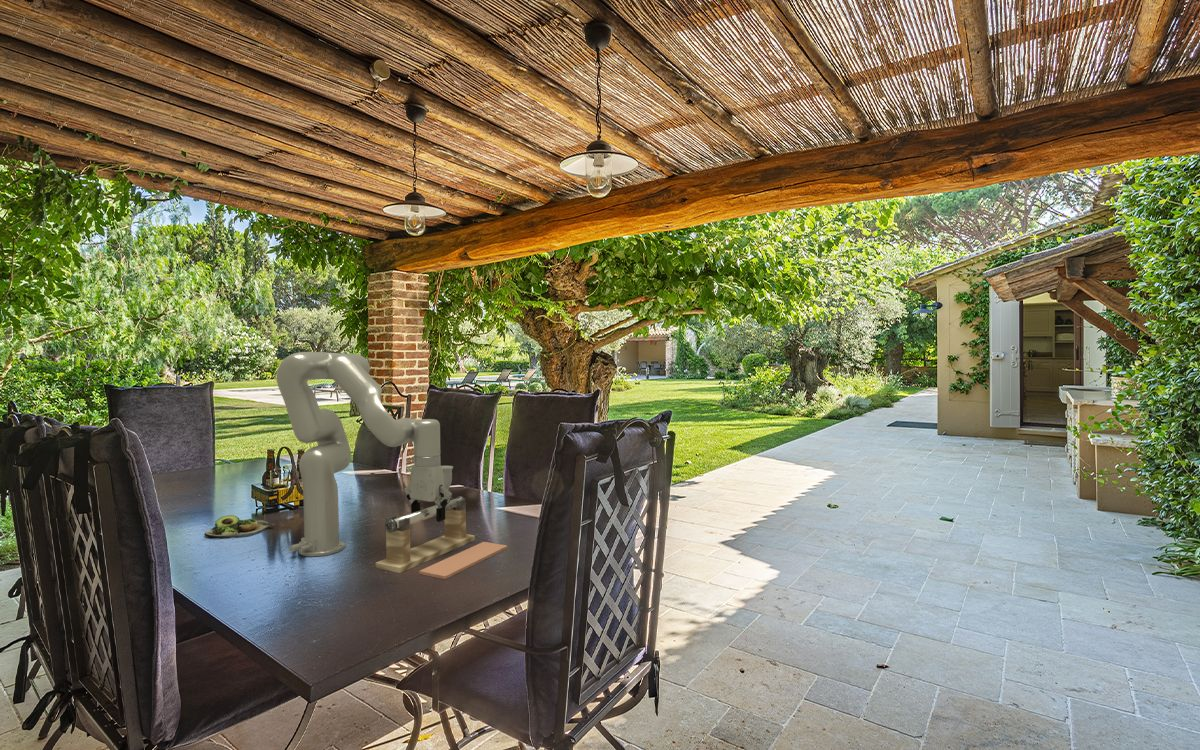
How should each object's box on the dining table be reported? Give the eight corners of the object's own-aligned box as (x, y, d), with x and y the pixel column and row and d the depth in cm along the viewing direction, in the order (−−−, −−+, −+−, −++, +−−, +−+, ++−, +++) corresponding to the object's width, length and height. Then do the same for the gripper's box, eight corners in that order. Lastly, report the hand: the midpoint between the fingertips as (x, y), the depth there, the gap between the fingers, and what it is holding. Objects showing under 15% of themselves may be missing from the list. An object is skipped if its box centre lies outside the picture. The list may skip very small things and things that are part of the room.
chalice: (446, 513, 224) (445, 465, 223) (457, 516, 219) (457, 467, 219) (429, 517, 218) (429, 467, 217) (441, 520, 214) (440, 470, 213)
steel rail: (394, 533, 164) (394, 520, 164) (384, 531, 166) (384, 518, 166) (465, 508, 191) (465, 496, 191) (456, 506, 193) (456, 495, 193)
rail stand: (399, 573, 163) (399, 523, 162) (375, 568, 167) (374, 519, 166) (474, 540, 191) (474, 498, 191) (452, 536, 195) (452, 495, 195)
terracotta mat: (445, 579, 158) (445, 576, 158) (419, 573, 162) (419, 570, 162) (507, 548, 183) (507, 545, 183) (483, 544, 187) (483, 541, 187)
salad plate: (283, 523, 213) (283, 510, 213) (262, 538, 195) (262, 524, 195) (224, 525, 210) (224, 512, 210) (198, 541, 193) (197, 526, 193)
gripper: (396, 461, 179) (397, 518, 179) (441, 465, 171) (442, 525, 171) (414, 457, 185) (415, 512, 186) (458, 461, 178) (459, 519, 178)
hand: (428, 518), depth 179 cm, fingers open, 9 cm apart
